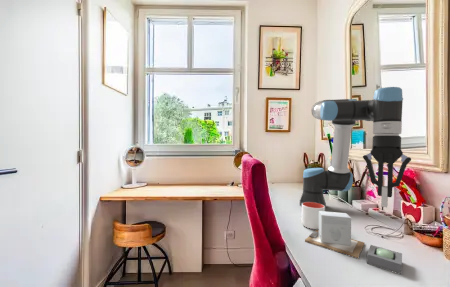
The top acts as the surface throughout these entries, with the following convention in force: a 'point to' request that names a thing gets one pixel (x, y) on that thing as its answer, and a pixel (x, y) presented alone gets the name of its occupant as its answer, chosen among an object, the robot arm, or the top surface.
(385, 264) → the button box
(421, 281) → the top surface
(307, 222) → the cup
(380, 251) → the button
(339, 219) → the skincare box
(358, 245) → the clipboard
